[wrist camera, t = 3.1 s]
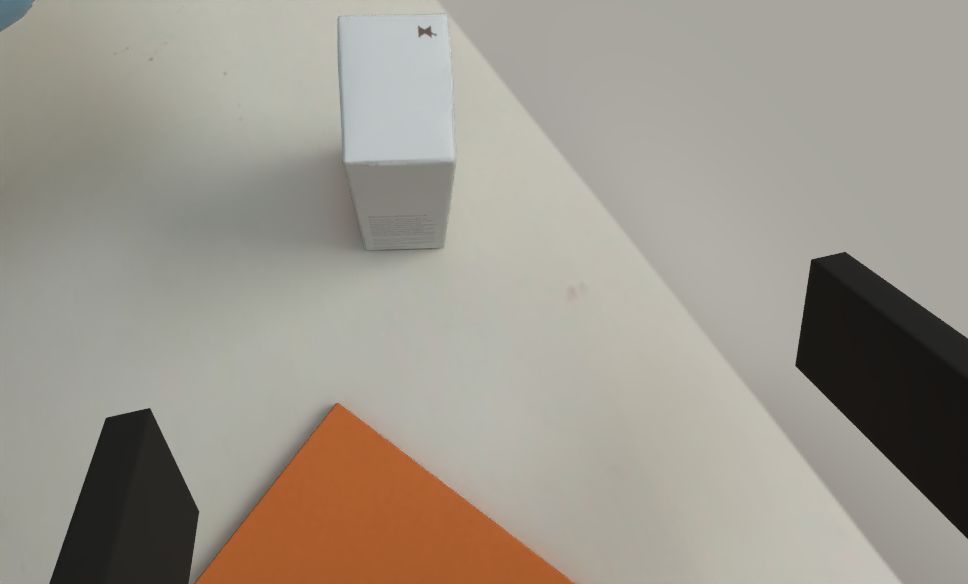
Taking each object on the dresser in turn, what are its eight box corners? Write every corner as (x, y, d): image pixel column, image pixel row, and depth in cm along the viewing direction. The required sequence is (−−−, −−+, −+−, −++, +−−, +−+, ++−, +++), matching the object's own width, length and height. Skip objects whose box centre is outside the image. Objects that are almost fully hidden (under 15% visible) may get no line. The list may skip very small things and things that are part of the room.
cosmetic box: (358, 144, 38) (335, 8, 26) (439, 142, 38) (451, 8, 27) (362, 255, 37) (339, 164, 25) (446, 252, 37) (462, 161, 25)
